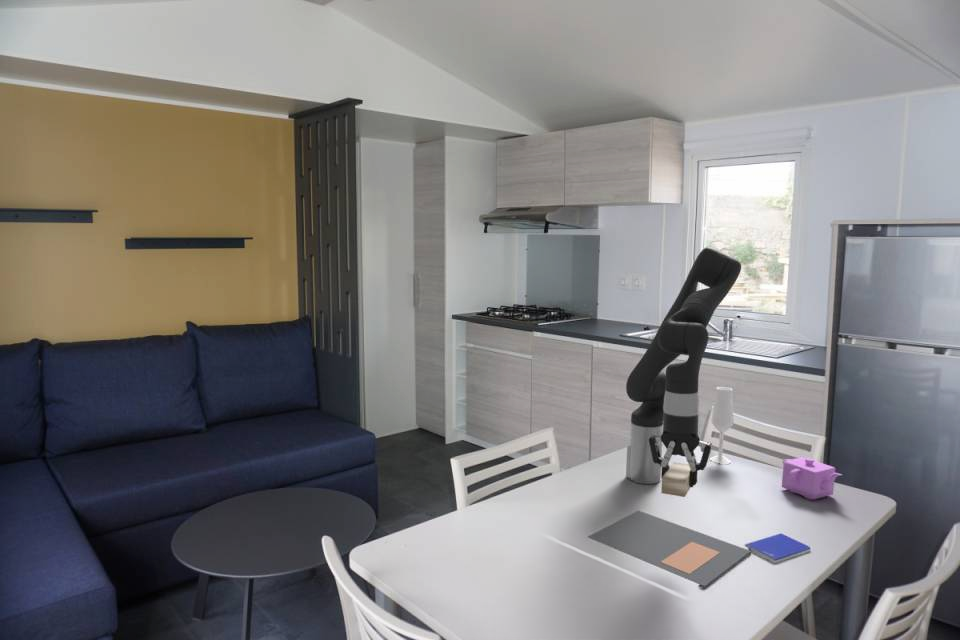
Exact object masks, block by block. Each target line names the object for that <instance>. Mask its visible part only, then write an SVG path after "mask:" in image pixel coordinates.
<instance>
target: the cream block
mask: <svg viewBox="0 0 960 640" xmlns="http://www.w3.org/2000/svg"><path fill="white" fill-rule="evenodd" d="M690 470H691V469H690V466H689V464H686V463H681V462H673V463H671V465H670V468H669V470H668V471H667V472H666V473H665V474H664V476H663V477H662V478H661V494H663V495H664V494H665V495H670V496H676V497H683V498H685V497H686V496H687V494H688V492H689V491H690V489H691V488H692V487H689V479H690Z"/></svg>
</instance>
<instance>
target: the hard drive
mask: <svg viewBox="0 0 960 640" xmlns="http://www.w3.org/2000/svg"><path fill="white" fill-rule="evenodd" d="M744 546H745V547H747V550H750V551H751V553H754V554H756V555H758V556H760V557H762V558H763V559H765V560H767V559H768V560H767V561H769V560H770V561H769V562H771V561H772V563H773V562H774V563H773V564H777V563H780V562H782V560H783V561H785V559H786V560H788V559H787V558H789V559H790V557H791V558H794V557H796V555H797V556H800V555H802V553H803V554H805V552H806V553H808V551H809V552H811V547H810V546H809V545H807V544H805V543H803V542H802V541H799V540H796V539H794V538H792V537H791V536H788V535H786V534H783V533H777V534H775V535H771V536H768V537H764V538H761V539H759V540H754V541H752V542H747V543H745V544H744ZM799 554H800V555H799ZM793 556H794V557H793ZM779 561H780V562H779ZM776 562H777V563H776Z"/></svg>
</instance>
